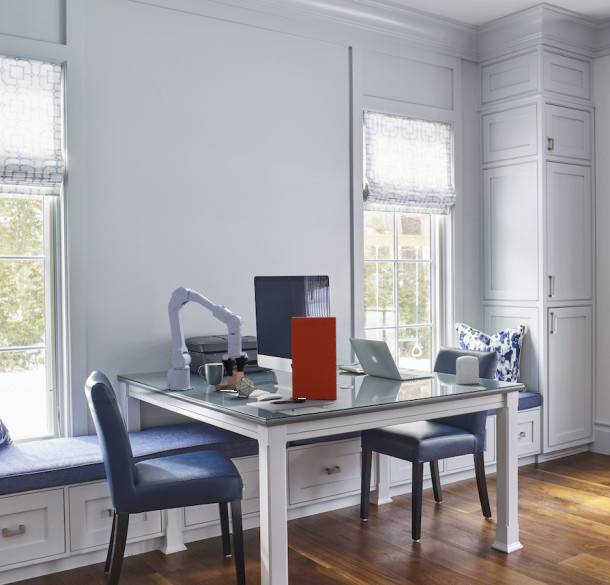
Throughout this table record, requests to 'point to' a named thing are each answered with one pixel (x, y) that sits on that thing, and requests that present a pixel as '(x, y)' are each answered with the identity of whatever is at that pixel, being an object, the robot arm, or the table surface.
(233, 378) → the cube
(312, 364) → the file binder
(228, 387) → the plinth
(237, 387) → the game die
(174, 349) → the robot arm
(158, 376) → the table surface
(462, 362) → the grey smart speaker
